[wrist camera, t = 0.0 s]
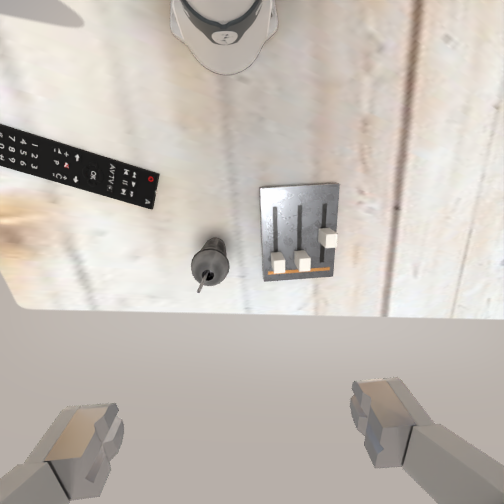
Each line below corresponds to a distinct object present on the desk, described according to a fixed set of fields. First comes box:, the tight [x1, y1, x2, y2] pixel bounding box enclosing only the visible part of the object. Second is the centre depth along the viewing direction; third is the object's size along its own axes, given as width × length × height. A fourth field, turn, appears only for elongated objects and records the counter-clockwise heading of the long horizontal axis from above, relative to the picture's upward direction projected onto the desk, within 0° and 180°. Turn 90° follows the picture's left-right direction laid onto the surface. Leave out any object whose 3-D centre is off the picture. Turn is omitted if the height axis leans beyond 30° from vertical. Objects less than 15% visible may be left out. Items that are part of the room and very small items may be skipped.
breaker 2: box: [294, 250, 311, 272], centre depth 54 cm, size 3×2×5 cm
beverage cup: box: [191, 238, 229, 293], centre depth 47 cm, size 7×7×20 cm
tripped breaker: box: [318, 228, 338, 248], centre depth 52 cm, size 3×2×5 cm
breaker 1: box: [271, 252, 285, 274], centre depth 54 cm, size 3×2×5 cm
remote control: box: [0, 124, 159, 209], centre depth 49 cm, size 8×32×2 cm, turn 72°
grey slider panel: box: [260, 183, 339, 282], centre depth 56 cm, size 22×17×2 cm
